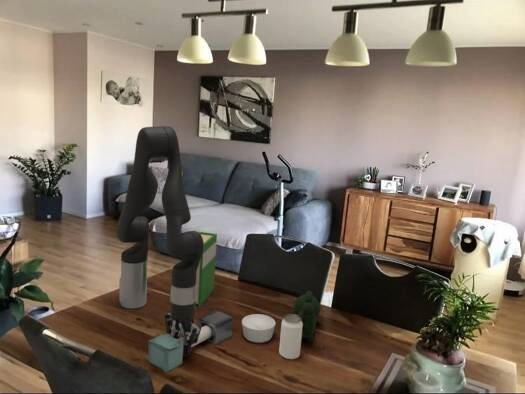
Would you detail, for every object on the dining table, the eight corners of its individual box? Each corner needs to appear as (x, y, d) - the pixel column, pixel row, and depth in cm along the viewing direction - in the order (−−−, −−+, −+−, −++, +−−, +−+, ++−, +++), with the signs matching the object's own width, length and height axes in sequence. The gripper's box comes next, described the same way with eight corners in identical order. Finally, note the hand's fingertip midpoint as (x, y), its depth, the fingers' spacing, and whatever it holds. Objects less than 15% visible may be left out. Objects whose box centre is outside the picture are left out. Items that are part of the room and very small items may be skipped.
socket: (148, 361, 121) (148, 340, 120) (164, 353, 126) (165, 333, 124) (166, 372, 116) (166, 350, 115) (182, 363, 121) (183, 342, 120)
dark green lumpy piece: (318, 355, 134) (318, 314, 158) (324, 302, 129) (323, 268, 153) (289, 351, 135) (293, 311, 159) (293, 298, 130) (297, 265, 154)
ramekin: (235, 339, 136) (236, 324, 136) (248, 325, 147) (249, 311, 146) (267, 348, 133) (269, 332, 132) (278, 332, 143) (279, 318, 142)
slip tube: (160, 356, 122) (161, 343, 121) (213, 329, 140) (213, 318, 139) (170, 361, 120) (170, 348, 119) (222, 334, 137) (222, 322, 136)
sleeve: (198, 336, 137) (199, 317, 136) (215, 327, 143) (216, 309, 142) (215, 344, 132) (216, 325, 131) (231, 335, 139) (233, 317, 138)
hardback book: (200, 306, 158) (203, 245, 154) (181, 304, 159) (184, 243, 155) (213, 289, 175) (216, 233, 171) (196, 286, 176) (199, 231, 172)
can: (298, 361, 126) (302, 324, 124) (277, 357, 128) (280, 321, 125) (300, 350, 133) (304, 315, 131) (280, 347, 134) (283, 312, 132)
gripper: (157, 294, 124) (155, 347, 127) (190, 310, 115) (188, 366, 119) (176, 287, 130) (174, 338, 133) (209, 302, 121) (206, 355, 124)
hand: (181, 351), depth 126 cm, fingers open, 4 cm apart
